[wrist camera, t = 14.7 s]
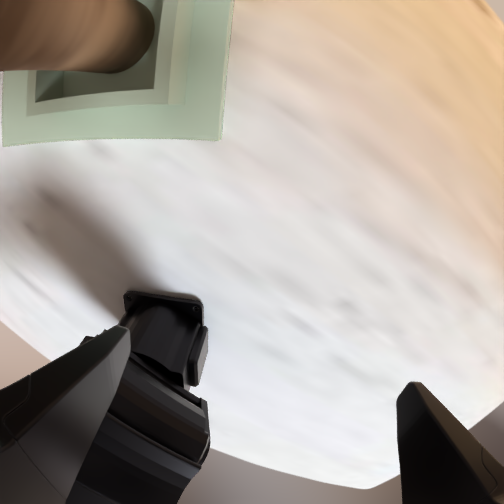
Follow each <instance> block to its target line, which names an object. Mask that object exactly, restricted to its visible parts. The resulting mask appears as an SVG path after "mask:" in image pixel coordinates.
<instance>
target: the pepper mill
mask: <svg viewBox="0 0 504 504" xmlns="http://www.w3.org/2000/svg"><path fill="white" fill-rule="evenodd" d="M154 30H155V24H154V18H153V15H152V13H151V11H150V10H149V9H148V8H147V7H146V6H145V5H144V4H142V3H141V2H139V1H137V0H0V71H18V70H53V71H77V72H92V73H104V74H115V73H119V72H122V71H125V70H127V69H129V68H130V67H132V66H133V65H135V64H136V63H137V62H138V61H139V60H140V59H141V58H142V57H143V56H144V54H145V53H146V52H147V50H148V48H149V46H150V45H151V42H152V39H153V36H154Z"/></svg>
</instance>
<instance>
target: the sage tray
mask: <svg viewBox="0 0 504 504" xmlns="http://www.w3.org/2000/svg"><path fill="white" fill-rule="evenodd" d="M137 1H139V2H141V3H142V4H144V5H145V6H146V7H147V8H148V9H149V10H150V11H151V13H152V15H153V18H154V24H155V30H154V36H153V39H152V42H151V45H150V46H149V48H148V50H147V52H146V53H145V54H144V56H143V57H142V58H141V59H140V60H139V61H138V62H137V63H136V64H135V65H133V66H132V67H130V68H129V69H127V70H125V71H122V72H119V73H115V74H104V73H92V72H77V71H53V70H18V71H4V76H3V93H2V143H3V147H7V146H15V145H24V144H34V143H45V142H58V141H73V140H93V139H187V140H208V141H219V140H221V139H222V126H223V112H224V100H225V88H226V76H227V65H228V55H229V44H230V34H231V25H232V16H233V7H234V0H137Z"/></svg>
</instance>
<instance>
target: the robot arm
mask: <svg viewBox="0 0 504 504" xmlns="http://www.w3.org/2000/svg"><path fill="white" fill-rule="evenodd" d="M129 296H130V297H131V298H132V299H131V298H129ZM123 298H124V304H125V310H126V313H125V314H124V316H123V317H122V319H121V320H120V322H119V323H118V325H116V326H114V327H112V328H110V329H109V330H106V329H105V330H104V331H103V332H102V333H101V334H100V335H96V336H95V337H90V336H86V337H85V338H84V339H83V341H82V342H81V343H80V345H79V346H78V347H77V348H75V349H73V350H71V351H70V352H68V353H66V354H64V355H63V356H61V357H59V358H57V359H56V360H54V361H52V362H50V363H48V364H47V365H45V366H43V367H42V368H40V369H38V370H36V371H35V372H33V373H31V374H30V375H27V376H25V377H24V378H22V379H20V380H18V381H17V382H15V383H13V384H11V385H9V386H7V387H5V388H3V389H1V390H0V504H177V502H178V500H179V498H180V496H181V494H182V492H183V491H184V489H185V487H186V486H187V485H188V483H189V482H190V480H191V479H192V478H193V477H194V476H195V475H196V474H197V473H198V472H199V470H200V469H201V465H202V464H203V462H204V460H205V458H206V457H207V454H208V451H209V448H210V430H209V419H208V407H207V401H205V400H204V399H202V398H198V397H196V396H195V395H193V394H192V393H190V392H189V389H190V386H194V387H196V386H197V385H199V381H200V378H201V374H202V371H203V367H204V363H205V360H206V356H207V353H208V328H207V327H206V326H204V307H203V304H202V303H201V302H200V301H196V300H188V299H181V298H175V297H168V296H161V295H155V294H148V293H142V292H136V291H127V292H126V293H125V294H124V297H123ZM194 306H196V307H198V308H199V309H196V308H195V307H194ZM396 407H397V442H398V453H399V463H400V474H401V486H402V487H401V488H402V504H504V467H503V466H502V465H501V464H500V463H499V462H498V461H497V460H496V459H495V458H494V457H493V456H492V455H491V454H490V453H489V452H488V451H487V450H486V449H485V448H484V447H483V446H482V445H481V444H480V442H479V441H478V440H477V439H476V438H475V437H474V436H473V435H472V434H471V433H470V432H469V431H468V430H467V429H466V428H465V427H464V426H463V425H462V424H461V423H460V422H459V421H458V420H457V419H456V418H455V417H454V415H453V414H452V413H451V412H450V411H449V410H448V409H447V408H446V407H445V406H444V405H443V404H442V403H441V402H440V401H439V400H438V399H437V398H436V397H435V396H434V395H433V394H432V393H431V392H430V391H429V390H428V389H427V388H426V387H425V386H424V385H423V384H422V383H421V382H409V383H408V384H407V385H406V387H405V388H404V389H403V391H402V392H401V394H400V395H399V396H398V398H397V402H396Z"/></svg>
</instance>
